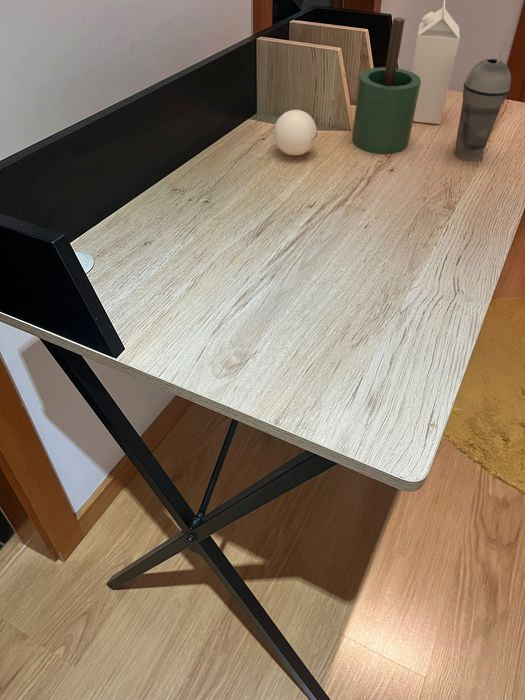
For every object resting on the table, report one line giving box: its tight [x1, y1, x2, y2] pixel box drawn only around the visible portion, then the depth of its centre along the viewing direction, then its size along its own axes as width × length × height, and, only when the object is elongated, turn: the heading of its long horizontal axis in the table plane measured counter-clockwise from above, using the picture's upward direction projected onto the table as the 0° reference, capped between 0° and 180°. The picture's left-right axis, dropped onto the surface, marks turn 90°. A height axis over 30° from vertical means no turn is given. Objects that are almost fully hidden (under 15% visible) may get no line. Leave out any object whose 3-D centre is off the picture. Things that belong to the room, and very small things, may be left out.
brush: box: [383, 17, 406, 86], centre depth 96 cm, size 4×4×19 cm
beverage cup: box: [454, 29, 513, 162], centre depth 93 cm, size 7×7×20 cm
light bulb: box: [273, 109, 318, 157], centre depth 98 cm, size 10×7×7 cm
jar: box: [351, 66, 421, 155], centre depth 99 cm, size 10×10×11 cm
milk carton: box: [410, 0, 461, 125], centre depth 105 cm, size 7×7×19 cm
